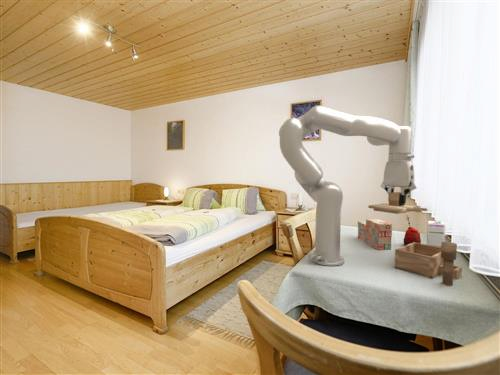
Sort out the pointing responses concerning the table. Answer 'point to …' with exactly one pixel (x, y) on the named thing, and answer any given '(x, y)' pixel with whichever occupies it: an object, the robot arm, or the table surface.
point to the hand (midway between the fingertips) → (396, 204)
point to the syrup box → (435, 233)
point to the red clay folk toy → (411, 235)
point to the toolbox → (422, 260)
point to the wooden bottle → (448, 261)
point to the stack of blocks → (375, 233)
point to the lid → (396, 205)
